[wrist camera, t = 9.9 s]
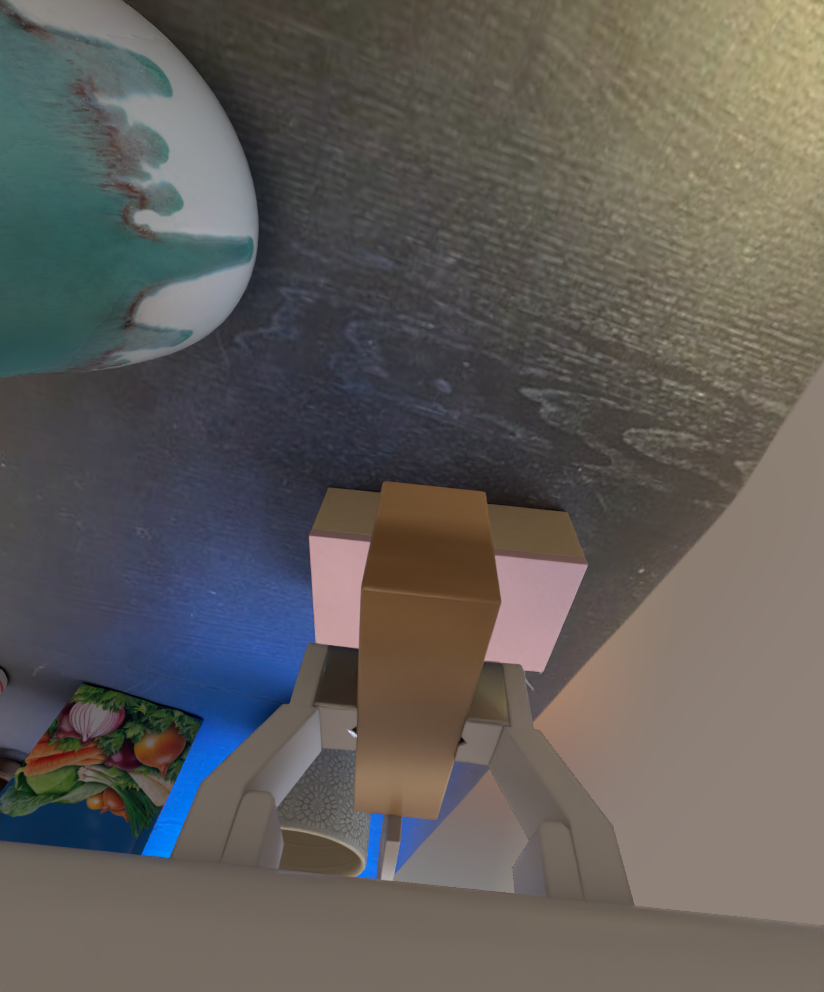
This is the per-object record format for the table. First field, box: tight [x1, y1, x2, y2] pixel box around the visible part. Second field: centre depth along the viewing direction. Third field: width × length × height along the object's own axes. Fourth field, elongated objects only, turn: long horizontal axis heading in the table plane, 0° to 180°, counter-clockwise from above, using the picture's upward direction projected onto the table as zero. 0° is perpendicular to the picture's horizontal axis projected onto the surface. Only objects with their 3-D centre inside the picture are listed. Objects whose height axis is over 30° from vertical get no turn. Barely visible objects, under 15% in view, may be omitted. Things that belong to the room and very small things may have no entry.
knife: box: [353, 481, 502, 881], centre depth 15 cm, size 22×2×4 cm, turn 175°
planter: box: [277, 748, 371, 877], centre depth 41 cm, size 12×12×11 cm
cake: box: [485, 504, 588, 672], centre depth 29 cm, size 9×10×5 cm
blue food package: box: [0, 683, 203, 855], centre depth 36 cm, size 6×12×25 cm, turn 63°
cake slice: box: [309, 487, 380, 648], centre depth 29 cm, size 5×10×5 cm, turn 175°
